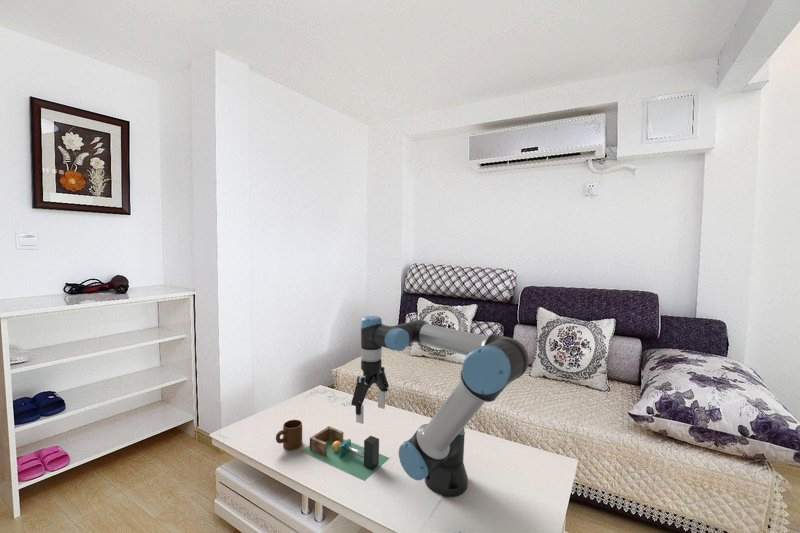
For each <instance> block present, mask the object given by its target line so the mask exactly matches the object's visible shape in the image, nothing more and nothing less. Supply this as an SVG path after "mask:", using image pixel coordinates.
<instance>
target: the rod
mask: <svg viewBox="0 0 800 533" xmlns="http://www.w3.org/2000/svg"><path fill="white" fill-rule="evenodd" d="M345 440H346V441H345V442H343V443H342V444H341V445H339V452H338V457H340V458H341V457H343V456H344V455H345V454H347V453H348V452H351V453H353V454H355V455H358V456H360V457H363V458H364V466H365V467H367V468H369V469H371V470H373V469H374V468H375V467H376V466H377V465H378V464H379V454H380V438H379V437H376V436H372V435H369V436H368V437H367V438H365V440H363V447H364V452H362V451H360V450H357V449H355V448H352V447H351V442H352V440H351V439H350V438H348V439H345Z"/></svg>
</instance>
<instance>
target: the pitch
mask: <svg viewBox="0 0 800 533" xmlns="http://www.w3.org/2000/svg"><path fill="white" fill-rule="evenodd" d="M346 440H347V439H344V438H343V442H345V441H346ZM326 443H327V455H326V456H325V457H324V456H322V455H320V454H318V453H315V452H313V451H311V450H310V444H309V445H308V446H306V447H304V448H303V449H301V453H304V454H306V455H309V456H310V457H312V458H315V459H317V460H319V461H321V462H323V463H326V464H328V465H330V466H332V467H334V468H336V469H339V470H340V471H343V472H344V473H347V474H349V475H351V476H353V477H355V478H357V479H359V480H362V481H363V482H366V480H368V479H369V477H371V476H372V475H373V474H374V473H375V472H376V471H378V469H379V468H381V467H382V466H383V465H384V464H385V463H386V462H387V461H388V460H389V459H390V457H389V456H386V455H383V454H381V453H379V464H378V465H377V466H376V467H375V468H374V469H373V470H371V469H369V468H367V467H365V466H364V458H363V457H360V456H358V455H355V454H353V453H351V452H348V453H347V454H345V455H344V456H343V457H341V458H340V457H338V452H335V451H333V449H332V444H333V443H334V442H333V441H331V440H328V441H326ZM351 447H352V448H355V449H357V450H360V451H362V452H364V446H361V445H359V444H357V443H353V442H352V441H351Z"/></svg>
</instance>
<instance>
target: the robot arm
mask: <svg viewBox="0 0 800 533" xmlns="http://www.w3.org/2000/svg"><path fill="white" fill-rule="evenodd" d="M360 326H361V327H360V347H361V348H360V350H361V352H360V353H361V354H360V357H361V358H360V369H361V371H362V372H363V373H362V375H361V376H360V375H358V376H357V378H356V384H355V389H354V393H353V396H352V400H351V406H354V407H355V416H356V417H355V423H358V424H360V425H363V424H364V422H365V421H364V417H365V416H364V410H365V408H364V404H363V403H364V401H365V399H366V397H367V396H366V395H367V392H368V391H369V389H370V388H371V387H372V385H373V384H375V385H376V386H377V388H378V389H379V390H377V408H378V409H379V408H380V409H384V410H385V408H386V392H388V391H389V386H390V385H389V382H388V379H387V375H386V373H385V367H384V366H382V364H383V363H382V348H386V349H389V350H390V351H397V352H401V351H404V350H405V349H406V348H407V347H408V346H409V345H410V344H413V343H417V344H422V345H425V346H429V347H432V348H436V349H441V350H443V351H444V350H445V351H447V352H452V353H455V354H459V355H462V356H465V358H464V359H463V362H462V365H461V367H462V368H461V369H462V370H461V371H460V374H459V376H460V377H459V378H460V381H459V383H458V384H457V385H456V386H455V388H454V389H453V390H452V392H451V393H450V395H449V396H448V397H447V399H446V400H445V401H444V402H443V404H442V405H441V406H440V407H439V409H438V410H437V411H436V413H435V415H433V417H431V419H430V421H429V422H428V423H424V424H422V425H420V426H419V427H418V429H417V430H416V431H415V432H414V434H413V435H412V436H411V437H410V438H409V439H408V440H405V441H404V442H403V443H402V444H400V446H399V449H398V459H399V463H400V465H401V467H402V469H403V471H404V472H405V473H406V474H407V476H408V477H409V478H411V479H412V480H415V481H423V480H424V484H425V486H426V487H427V488H428V489H429V490H430V491H431V492H433V493H435V494H437V495H440V496H442V497H446V498H452V497H453V498H454V497H458V496H460V494H461V495H463V494H464V493H465V492H466V491H467V489H468V484H469V483H468V482H469V479H468V474H467V470H466V468H465V463H464V454H465V434H466V432H465V427H466V426H467V424H469V422H470V421H471V420H472V418H473V417H474V416H475V415H476V414H477V412H478V411H479V410H480V408H481V407H482V406H483V405H484V404H485V403H491V402H494V401H495V400H496V399H497V398H498V397H499V396H500V394H501V393H502V392H503V391H504V389H506V387H507V386H509V385H510V383H512V382H514V381H515V380H517V379H519V378H520V377H522V376H523V375H524V374H525V373H526V371H527V369H528V368H529V364H530V357H529V353H528V351H527V349H526V347H525V346H524V344H523V343H521V342H520V341H519V340H517V339H516V338H512V337H509V336H503V335H499V334H494V333H492V334H489V335H488V336H487V335H482V334H478V333H471V332H467V331H462V330H459V329H458V330H457V329H454V328H450V327H449V328H448V327H444V326H439V325H434V324H430V323H429V322H428V321H426V320H425V319H416V320H412V321H409V322H405V323H401V324H395V325H391V326H390V325H386V324H383V321H382V318H381V317H380V316H377V315H376V316H375V315H369V316H365V317H362V319H361V322H360ZM465 490H466V491H465ZM464 491H465V492H464ZM463 492H464V493H463Z"/></svg>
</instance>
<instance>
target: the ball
mask: <svg viewBox="0 0 800 533" xmlns="http://www.w3.org/2000/svg"><path fill="white" fill-rule="evenodd" d="M341 444H342V443H341V442H340V441H335V442H334V443H333V444H332V449H333V451H335V452H339V445H341Z"/></svg>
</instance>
